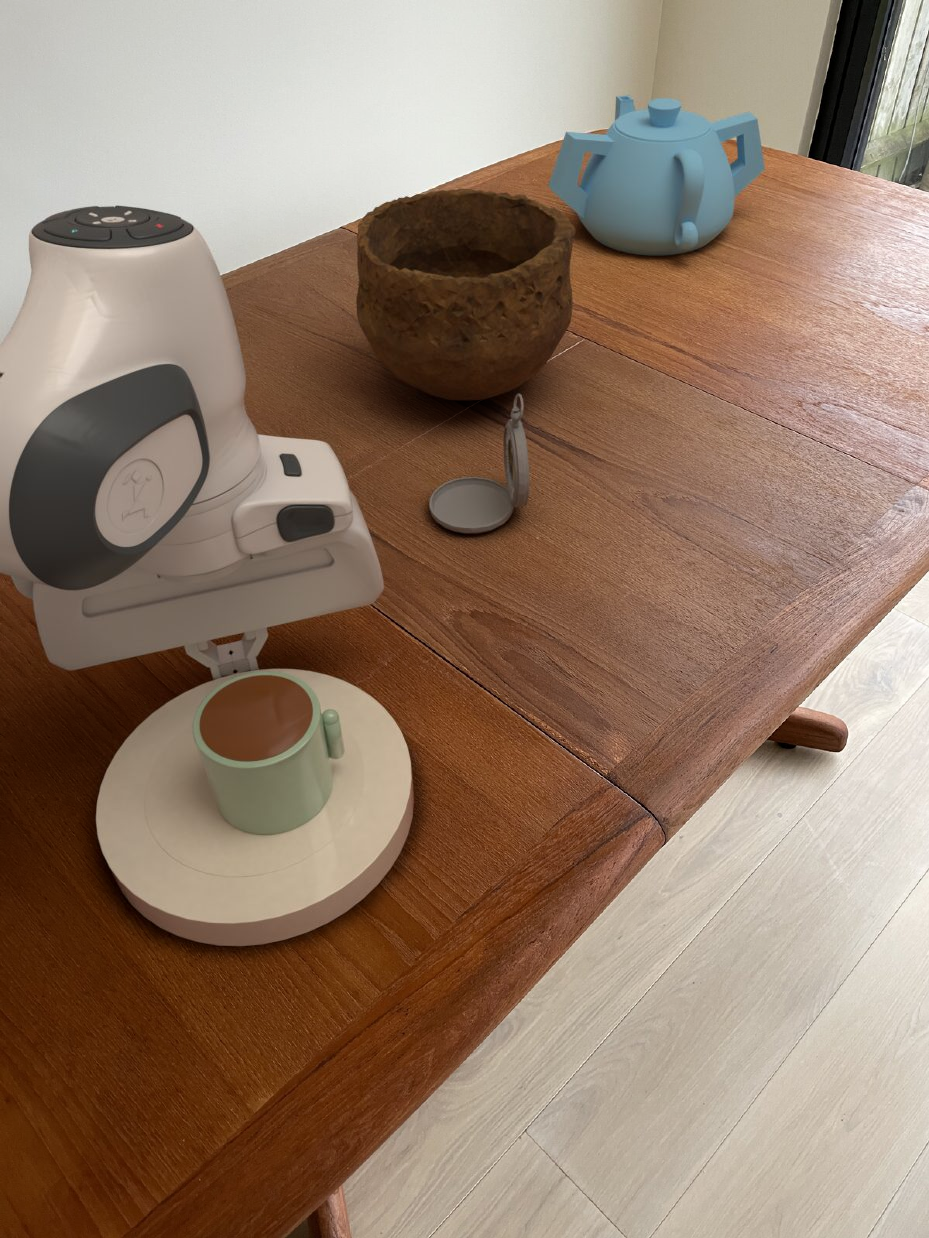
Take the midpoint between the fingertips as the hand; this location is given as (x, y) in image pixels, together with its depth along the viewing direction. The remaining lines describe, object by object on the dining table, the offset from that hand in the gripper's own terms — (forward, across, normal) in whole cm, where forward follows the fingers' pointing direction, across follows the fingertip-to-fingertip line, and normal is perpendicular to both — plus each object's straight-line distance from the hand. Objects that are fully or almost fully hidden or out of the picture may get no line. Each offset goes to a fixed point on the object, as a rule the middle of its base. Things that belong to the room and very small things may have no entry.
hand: (236, 671), depth 66 cm
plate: (+2, 0, -10) cm, 10 cm away
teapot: (+3, +56, +59) cm, 81 cm away
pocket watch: (+2, +21, +13) cm, 25 cm away
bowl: (+2, +25, +32) cm, 41 cm away
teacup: (-1, +1, -10) cm, 11 cm away
